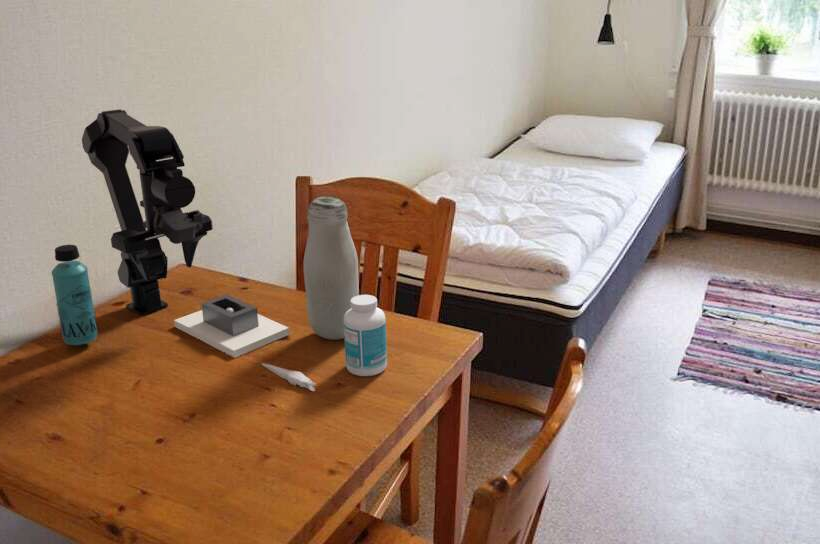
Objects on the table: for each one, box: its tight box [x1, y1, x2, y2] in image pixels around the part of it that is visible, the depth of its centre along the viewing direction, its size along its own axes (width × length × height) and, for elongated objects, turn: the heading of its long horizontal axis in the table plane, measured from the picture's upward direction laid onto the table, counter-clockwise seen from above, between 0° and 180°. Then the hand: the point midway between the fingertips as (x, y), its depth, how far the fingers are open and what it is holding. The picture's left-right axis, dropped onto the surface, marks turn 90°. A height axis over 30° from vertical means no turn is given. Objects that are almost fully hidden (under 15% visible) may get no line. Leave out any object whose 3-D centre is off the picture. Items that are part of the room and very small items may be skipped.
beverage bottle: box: [51, 244, 99, 346], centre depth 152 cm, size 6×7×20 cm
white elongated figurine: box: [261, 363, 317, 392], centre depth 143 cm, size 15×3×2 cm, turn 48°
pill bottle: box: [343, 294, 388, 377], centre depth 144 cm, size 8×7×14 cm
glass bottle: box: [302, 196, 360, 341], centre depth 153 cm, size 10×10×28 cm
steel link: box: [200, 294, 259, 336], centre depth 159 cm, size 10×6×4 cm, turn 47°
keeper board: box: [173, 308, 290, 359], centre depth 160 cm, size 20×13×5 cm, turn 48°
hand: (168, 273), depth 157 cm, fingers open, 9 cm apart
